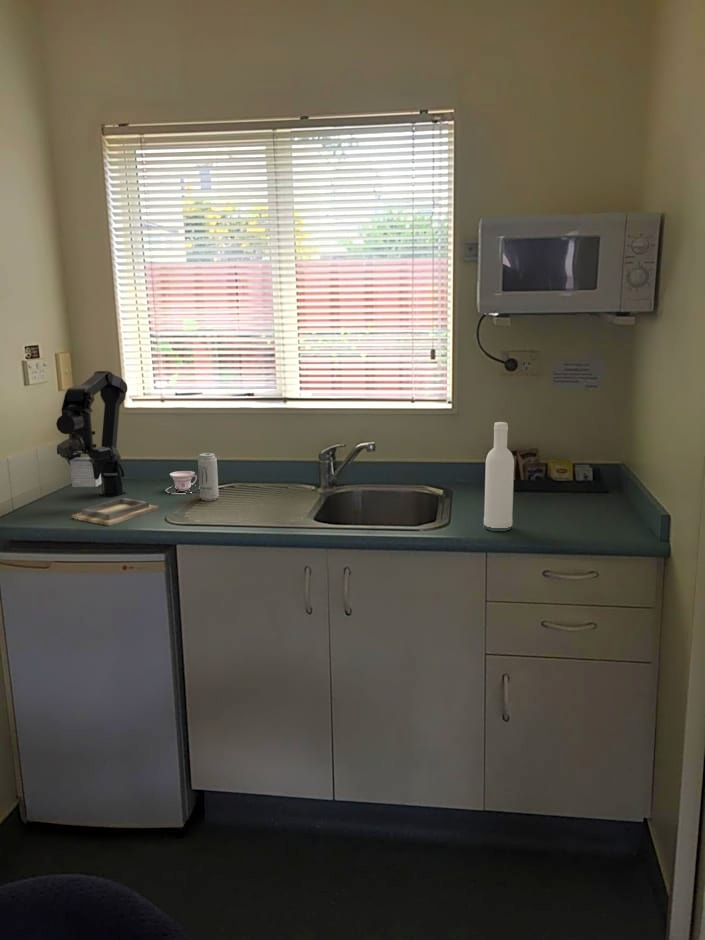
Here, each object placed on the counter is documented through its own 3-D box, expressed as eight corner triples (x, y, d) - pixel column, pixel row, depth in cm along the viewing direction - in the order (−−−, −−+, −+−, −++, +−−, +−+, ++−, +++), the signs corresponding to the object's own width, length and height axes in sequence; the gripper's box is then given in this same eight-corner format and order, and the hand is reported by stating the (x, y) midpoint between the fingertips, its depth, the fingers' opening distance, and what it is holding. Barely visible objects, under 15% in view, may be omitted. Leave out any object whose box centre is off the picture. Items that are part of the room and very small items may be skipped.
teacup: (165, 496, 256) (164, 478, 255) (165, 487, 268) (164, 470, 266) (202, 493, 259) (201, 476, 258) (200, 485, 271) (199, 468, 269)
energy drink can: (196, 500, 250) (193, 455, 246) (207, 496, 255) (204, 452, 252) (211, 502, 247) (209, 456, 244) (222, 498, 252) (220, 453, 249)
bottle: (489, 522, 221) (492, 419, 214) (516, 526, 217) (519, 421, 210) (479, 530, 214) (482, 424, 208) (506, 534, 210) (510, 426, 204)
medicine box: (102, 484, 243) (99, 457, 241) (96, 487, 238) (93, 460, 236) (78, 483, 243) (75, 457, 241) (71, 487, 239) (69, 460, 237)
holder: (71, 518, 231) (71, 510, 230) (122, 503, 248) (121, 495, 247) (109, 525, 223) (108, 517, 222) (158, 509, 240) (158, 501, 239)
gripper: (39, 430, 235) (45, 479, 238) (82, 435, 225) (86, 486, 229) (69, 425, 244) (74, 472, 247) (111, 429, 235) (115, 478, 238)
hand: (86, 477), depth 240 cm, fingers closed on medicine box, 9 cm apart
